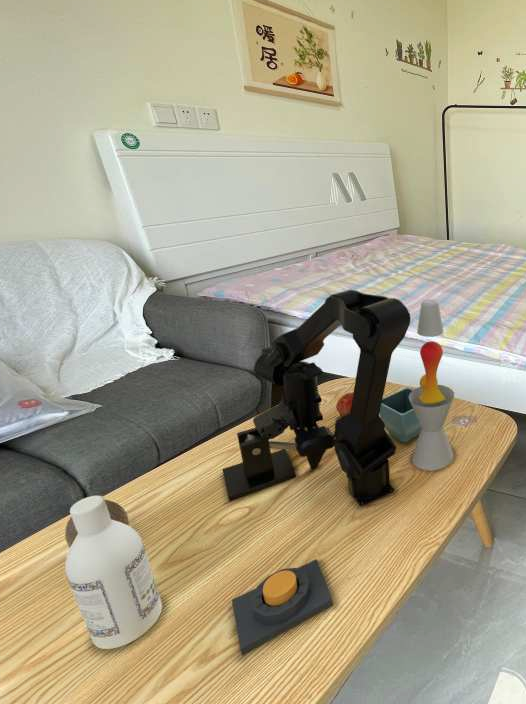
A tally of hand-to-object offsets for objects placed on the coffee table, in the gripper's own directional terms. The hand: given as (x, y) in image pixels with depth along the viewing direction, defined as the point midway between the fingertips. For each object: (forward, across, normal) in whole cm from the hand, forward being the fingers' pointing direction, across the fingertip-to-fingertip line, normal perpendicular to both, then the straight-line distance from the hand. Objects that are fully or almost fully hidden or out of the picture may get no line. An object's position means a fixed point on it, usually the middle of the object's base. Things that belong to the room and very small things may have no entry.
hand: (308, 457), depth 90 cm
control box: (0, +31, -11) cm, 33 cm away
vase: (+1, +4, -31) cm, 31 cm away
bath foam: (+1, +22, -28) cm, 35 cm away
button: (-3, +31, -11) cm, 33 cm away
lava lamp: (0, +14, +21) cm, 25 cm away
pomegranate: (0, -9, +12) cm, 15 cm away
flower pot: (0, +4, +20) cm, 20 cm away
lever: (-4, 0, -5) cm, 6 cm away
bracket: (0, 0, -9) cm, 9 cm away
